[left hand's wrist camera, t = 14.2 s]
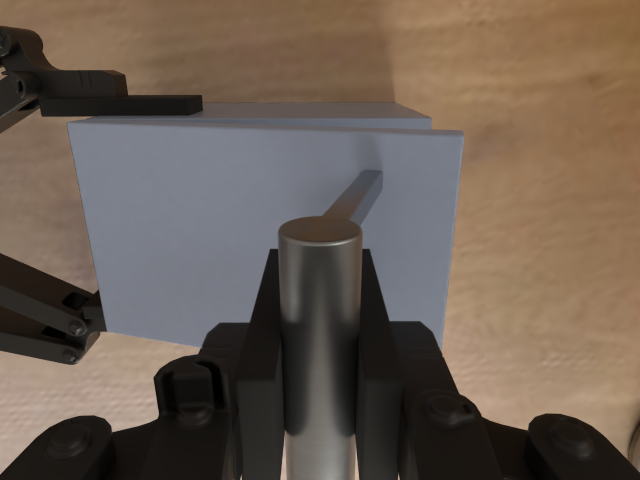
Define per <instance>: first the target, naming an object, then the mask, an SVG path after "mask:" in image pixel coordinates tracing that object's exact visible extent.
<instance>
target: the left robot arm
mask: <svg viewBox="0 0 640 480" xmlns="http://www.w3.org/2000/svg"><path fill="white" fill-rule="evenodd" d="M154 384H155V391H156V397H157V404H158V410H159V416H158V419H156V420H154V421H152V422H150V423H147V424H144V425H141V426H137V427H133V428H129V429H125V430H120V431H116V432H112V429H111V425H110V424H109V423H108V422H107V421H106V420H105V419H104V418H100V417H97V416H94V415H92V416H77V417H74V418H70V419H66V420H63V421H61V422H59V423H57V424H55V425H53V426H51V427H49V428H48V429H47V430H45V431H44V432H43V433H42V434H40V435H39V436H38V437H37V438H36V439H35V440H34V441H33V442H32V443H31V444H30V445H29V446H28V447H27V448H26V449H25V450H24V451H23V452H22V453H21V454H20V455H19V456H18V457H17V458H16V459H15V460H14V461H13V462H12V463H11V464H10V465H9V466H8V467H7V468H6V469H5V470H4V471H3V472H2V473H1V474H0V480H240V478H241V474H242V480H280V477H281V467H282V456H283V446H284V435H285V413H284V385H283V357H282V331H281V309H280V282H279V256H278V249H270V251H269V254H268V258H267V262H266V265H265V269H264V272H263V276H262V280H261V283H260V287H259V290H258V294H257V298H256V301H255V305H254V309H253V312H252V316H251V319H250V322H220V323H218V324H217V325H216V326H215V327H214V328H213V329H212V330H210V331H209V332H208V333H207V335H206V337H205V340H204V342H203V344H202V348H201V349H200V351H199V354H196V355H190V356H184V357H181V358H178V359H176V360H173V361H171V362H169V363H168V364H166V365H165V366H163V367H162V368H160V369H159V371H158V372H157V374H156V375H155V376H154ZM355 439H356V449H357V460H358V470H359V480H398V472H399V478H400V480H640V426H639V427H638V429H637V431H636V433H635V435H634V437H633V439H632V442H631V445H630V449H629V456H628V460H627V459H626V458H625V457H624V456H623V455H622V454H621V453H620V452H619V451H618V450H617V449H616V448H615V447H614V446H613V445H612V444H611V443H610V441H609V440H608V439H607V438H606V437H605V436H604V435H602V434H601V433H600V432H598V431H597V430H596V429H595V428H593V427H592V426H591V425H589V424H587V423H585V422H583V421H581V420H579V419H577V418H574V417H570V416H566V415H562V414H543V415H540V416H537V417H535V418H534V419H533V420H532V421H531V422H530V423H529V427H528V431H527V430H523V429H519V428H515V427H510V426H506V425H502V424H499V423H495V422H492V421H489V420H487V419H485V418H483V417H482V416H481V413H480V412H479V410H478V409H477V407H476V405H475V404H474V403H472V402H471V401H470V400H469V399H467V398H466V397H465V396H463V395H460V394H459V392H458V390H457V387H456V385H455V383H454V380H453V378H452V376H451V373H450V371H449V369H448V366H447V364H446V362H445V359H444V357H442V353H441V350H440V348H439V347H438V343H437V341H436V339H435V336H434V334H433V332H432V331H431V330H430V329H429V328H428V327H426V326H425V325H424V324H423V323H422V322H421V321H389V317H388V313H387V310H386V306H385V303H384V299H383V295H382V292H381V288H380V285H379V281H378V277H377V274H376V270H375V267H374V263H373V259H372V256H371V252H370V249H362V273H361V303H360V331H359V334H358V361H357V390H356V420H355Z"/></svg>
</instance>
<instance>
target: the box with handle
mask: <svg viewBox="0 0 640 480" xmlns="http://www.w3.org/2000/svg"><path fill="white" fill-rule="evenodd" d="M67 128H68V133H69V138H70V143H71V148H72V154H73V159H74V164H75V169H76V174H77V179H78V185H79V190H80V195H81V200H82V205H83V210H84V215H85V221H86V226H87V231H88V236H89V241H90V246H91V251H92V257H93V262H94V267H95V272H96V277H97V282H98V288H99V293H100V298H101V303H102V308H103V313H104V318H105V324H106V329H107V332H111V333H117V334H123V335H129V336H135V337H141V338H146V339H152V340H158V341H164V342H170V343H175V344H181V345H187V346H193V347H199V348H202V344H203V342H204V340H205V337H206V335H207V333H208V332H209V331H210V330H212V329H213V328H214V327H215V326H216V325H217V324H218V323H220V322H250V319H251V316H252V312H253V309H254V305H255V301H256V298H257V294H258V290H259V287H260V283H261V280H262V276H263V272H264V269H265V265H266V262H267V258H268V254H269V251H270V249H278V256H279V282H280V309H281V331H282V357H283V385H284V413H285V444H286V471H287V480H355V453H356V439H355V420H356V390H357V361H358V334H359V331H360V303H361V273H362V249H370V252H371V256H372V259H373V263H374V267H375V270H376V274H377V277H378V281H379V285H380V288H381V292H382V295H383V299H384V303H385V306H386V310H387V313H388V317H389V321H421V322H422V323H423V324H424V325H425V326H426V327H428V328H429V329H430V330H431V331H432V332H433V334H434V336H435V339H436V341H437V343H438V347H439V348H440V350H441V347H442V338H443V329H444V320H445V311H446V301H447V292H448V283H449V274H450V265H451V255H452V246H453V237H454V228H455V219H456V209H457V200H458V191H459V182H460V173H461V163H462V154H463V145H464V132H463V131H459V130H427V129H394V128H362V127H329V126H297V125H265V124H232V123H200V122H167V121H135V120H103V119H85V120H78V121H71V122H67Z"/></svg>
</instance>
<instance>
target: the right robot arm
mask: <svg viewBox="0 0 640 480" xmlns="http://www.w3.org/2000/svg"><path fill="white" fill-rule="evenodd" d="M42 51H43V43H42V39H41V38H40V36H39V35H38V34H37V33H35V32H34V31H31V30H27V29H20V28H13V27H6V26H0V68H1V67H4V68H5V69H6V71H4V72H1V73H2V75H8V76H6V77H5V78H3V79H2V80H0V133H2V132H3V131H5V130H7V129H8V128H10V127H11V126H13V125H14V124H16V123H17V122H19V121H21V120H22V119H24V118H25V117H27V116H28V115H30V114H31V113H33V112H35V111H36V110H38V109H39V108H40V110H41V114H42V117H61V116H189V115H192V114H195V113H198V112H200V111H203V103H202V95H128V91H127V84H126V77H125V75H124V74H122V73H119V72H117V71H114V70H59V69H56V68H55V67H53V66H52V65H51V64H50V63H49V62H48V61H47V59H46V57H45V56H44V54H43V52H42ZM100 332H107V329H106V324H105V318H104V313H103V308H102V303H101V298H100V293H99V290H98V291H97V292H96V293H95V294H92V293H90V292H88V291H85V290H83V289H81V288H79V287H76V286H74V285H72V284H69V283H67V282H65V281H63V280H60V279H58V278H56V277H53V276H51V275H49V274H47V273H44V272H42V271H40V270H37V269H35V268H33V267H31V266H28V265H26V264H24V263H21V262H19V261H17V260H15V259H12V258H10V257H8V256H5V255H3V254H1V253H0V351H5V352H10V353H14V354H19V355H24V356H29V357H34V358H39V359H44V360H49V361H53V362H58V363H63V364H68V365H74V364H77V363H78V362H79V361H80V360H81V359H82V357H83V356H84V355H85V354H86V353H87V351H88V350H89V349H90V348H91V346H92V345H93V344H94V343H95V341H96V340H97V339H98V338H99V336H100Z"/></svg>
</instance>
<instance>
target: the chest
mask: <svg viewBox="0 0 640 480" xmlns="http://www.w3.org/2000/svg"><path fill="white" fill-rule="evenodd" d="M87 119H103V120H135V121H167V122H200V123H232V124H265V125H297V126H329V127H362V128H394V129H427V130H431V124H432V118H431V117H428V116H426V115H423V114H421V113H419V112H416V111H414V110H412V109H409V108H407V107H404V106H402V105H400V104H397V103H395V102H370V103H203V111H200V112H198V113H195V114H192V115H189V116H97V117H92V118H87Z"/></svg>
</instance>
